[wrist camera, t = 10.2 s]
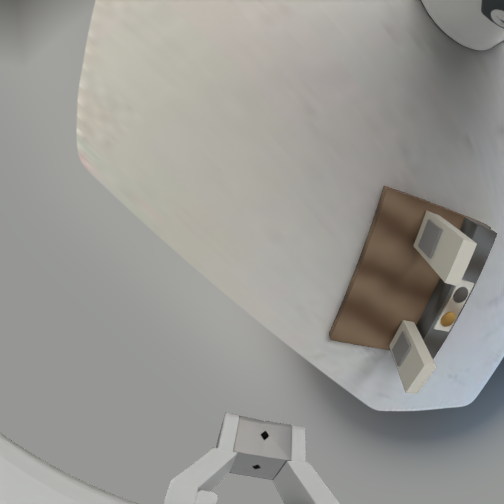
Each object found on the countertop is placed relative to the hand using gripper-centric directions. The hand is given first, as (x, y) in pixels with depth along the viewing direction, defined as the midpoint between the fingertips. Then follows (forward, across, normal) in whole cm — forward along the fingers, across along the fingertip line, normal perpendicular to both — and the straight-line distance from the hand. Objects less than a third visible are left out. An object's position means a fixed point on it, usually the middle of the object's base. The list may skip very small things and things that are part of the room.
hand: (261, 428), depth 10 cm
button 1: (+29, -22, +13) cm, 39 cm away
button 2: (+29, -19, -3) cm, 35 cm away
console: (+31, -21, +6) cm, 38 cm away
